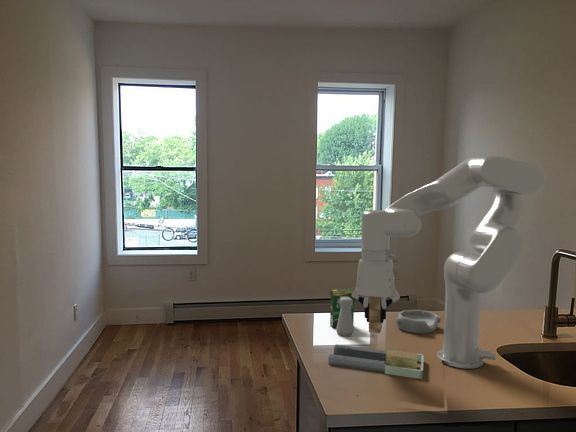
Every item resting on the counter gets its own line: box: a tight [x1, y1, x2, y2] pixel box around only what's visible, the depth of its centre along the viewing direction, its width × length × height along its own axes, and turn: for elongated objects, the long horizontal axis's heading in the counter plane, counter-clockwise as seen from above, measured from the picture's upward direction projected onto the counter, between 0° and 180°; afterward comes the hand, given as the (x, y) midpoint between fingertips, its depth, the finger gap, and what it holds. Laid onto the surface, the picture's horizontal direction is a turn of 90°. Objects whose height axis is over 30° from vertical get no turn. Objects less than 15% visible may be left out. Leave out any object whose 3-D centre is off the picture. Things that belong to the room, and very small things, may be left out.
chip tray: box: [384, 351, 425, 380], centre depth 128 cm, size 10×12×3 cm
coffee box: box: [329, 288, 355, 329], centre depth 164 cm, size 8×3×13 cm, turn 103°
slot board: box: [327, 344, 388, 373], centre depth 132 cm, size 15×10×3 cm, turn 73°
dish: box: [395, 309, 442, 334], centre depth 165 cm, size 14×14×5 cm
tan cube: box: [385, 349, 403, 367], centre depth 129 cm, size 4×4×4 cm
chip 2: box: [401, 351, 418, 370], centre depth 128 cm, size 4×4×4 cm
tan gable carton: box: [368, 297, 383, 334], centre depth 130 cm, size 3×4×10 cm
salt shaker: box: [335, 297, 355, 337], centre depth 154 cm, size 6×6×13 cm
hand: (375, 320), depth 130 cm, fingers closed on tan gable carton, 3 cm apart
